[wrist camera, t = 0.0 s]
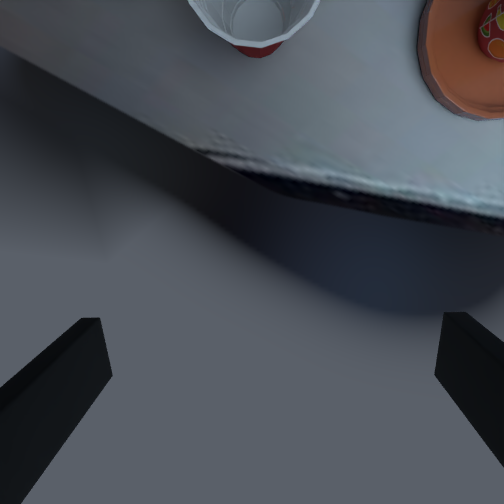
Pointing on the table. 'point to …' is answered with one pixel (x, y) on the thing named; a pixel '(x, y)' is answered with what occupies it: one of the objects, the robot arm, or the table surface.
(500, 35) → the smoothie
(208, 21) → the plastic cup
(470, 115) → the plate
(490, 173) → the table surface
